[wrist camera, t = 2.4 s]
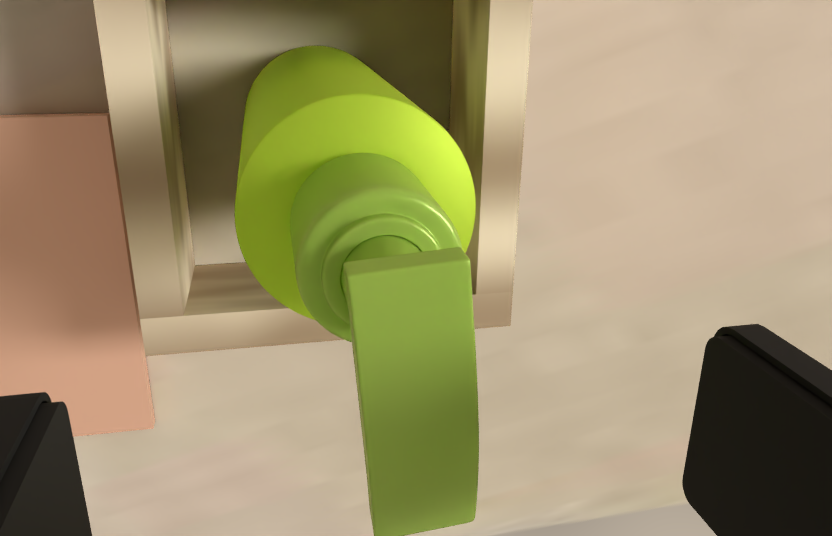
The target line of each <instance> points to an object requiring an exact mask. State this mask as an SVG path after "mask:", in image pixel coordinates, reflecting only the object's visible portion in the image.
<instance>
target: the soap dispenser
mask: <svg viewBox="0 0 832 536" xmlns="http://www.w3.org/2000/svg"><path fill="white" fill-rule="evenodd" d="M475 213H476V198H475V189H474V184H473V179H472V175H471V172H470V169H469V166H468V164H467V162H466V159H465V157H464V155H463V153H462V152H461V150H460V148H459V147H458V145H457V143H456V142H455V141H454V139H453V138H452V137H451V135H450V134H449V133H448V132H447V131H446V130H445V129H444V128H443V127H442V126H441V125H440V124H439V123H438V122H437V121H436V120H434V119H433V118H432V117H431V116H429V115H428V114H427V113H426V112H424V111H423V110H422V109H421V108H419V107H418V106H417V105H416V104H414V103H413V102H412V101H411V100H409V99H408V98H407V97H405V96H404V95H403V94H402V93H400V92H399V91H398V90H397V89H395V88H394V87H393V86H392V85H390V84H389V83H388V82H387V81H385V80H384V79H383V78H381V77H380V76H379V75H378V74H376V73H375V72H374V71H373V70H371V69H370V68H369V67H368V66H366V65H365V64H364V63H363V62H361V61H360V60H359V59H357V58H356V57H354V56H352V55H351V54H349V53H347V52H344V51H342V50H339V49H336V48H332V47H326V46H305V47H300V48H296V49H293V50H290V51H288V52H285V53H283V54H281V55H280V56H278V57H276V58H275V59H274V60H272V61H271V62H270V63H269V64H267V65H266V66H265V67H264V68H263V70H262V71H261V72H260V73H259V74H258V76H257V77H256V79H255V80H254V82H253V84H252V86H251V88H250V91H249V93H248V96H247V100H246V105H245V113H244V122H243V132H242V141H241V151H240V160H239V170H238V179H237V189H236V198H235V227H236V233H237V238H238V242H239V245H240V249H241V251H242V254H243V256H244V259H245V261H246V263H247V265H248V267H249V268H250V270H251V272H252V273H253V275H254V276H255V278H256V279H257V280H258V282H259V283H260V284H261V285H262V286H263V288H264V289H265V290H266V291H267V292H268V293H269V294H270V295H272V296H273V297H274V298H275V299H276V300H278V301H279V302H280V303H282V304H283V305H284V306H286V307H288V308H289V309H291V310H293V311H294V312H296V313H298V314H300V315H303V316H305V317H308V318H310V319H313V320H316V321H317V322H318V323H319V324H320V325H321V326H322V327H324V328H325V329H326V330H328V331H329V332H330V333H332V334H334V335H336V336H337V337H339V338H342V339H344V340H347V341H350V342H352V346H353V355H354V364H355V373H356V382H357V391H358V400H359V409H360V418H361V427H362V436H363V445H364V454H365V464H366V473H367V483H368V494H369V506H370V513H371V519H372V526H373V532H374V536H404V535H409V534H414V533H419V532H424V531H429V530H434V529H439V528H444V527H449V526H454V525H459V524H464V523H468V522H472V521H473V520H474V518H475V512H476V501H477V486H478V463H479V422H478V391H477V369H476V350H475V332H474V315H473V298H472V281H471V265H470V259H469V258H468V256H467V255H466V254H465V253H466V251H467V248H468V246H469V243H470V240H471V236H472V233H473V228H474V222H475Z"/></svg>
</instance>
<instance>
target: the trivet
mask: <svg viewBox="0 0 832 536" xmlns="http://www.w3.org/2000/svg"><path fill="white" fill-rule="evenodd" d="M39 392H46V393H47V394H48V395H49V397H50V399H51V401H52V402H61V401H63V402H64V403H65V404H66V406H67V410H68V414H69V419H70V424H71V429H72V434H73V436H83V435H93V434H103V433H113V432H123V431H132V430H142V429H152V428H154V424H155V417H154V410H153V403H152V396H151V389H150V383H149V376H148V369H147V362H146V356H145V350H144V343H143V337H142V330H141V323H140V316H139V309H138V303H137V296H136V289H135V282H134V275H133V269H132V262H131V255H130V248H129V241H128V235H127V228H126V221H125V214H124V207H123V201H122V194H121V187H120V180H119V173H118V167H117V160H116V153H115V146H114V139H113V133H112V126H111V119H110V113H79V114H30V115H0V396H8V395H18V394H29V393H39Z"/></svg>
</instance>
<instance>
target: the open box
mask: <svg viewBox="0 0 832 536" xmlns="http://www.w3.org/2000/svg"><path fill="white" fill-rule="evenodd" d="M93 3H94V10H95V17H96V24H97V31H98V37H99V44H100V51H101V58H102V65H103V71H104V78H105V85H106V92H107V99H108V105H109V112H110V119H111V126H112V133H113V139H114V146H115V153H116V160H117V167H118V173H119V180H120V187H121V194H122V201H123V207H124V214H125V221H126V228H127V235H128V241H129V248H130V255H131V262H132V269H133V275H134V282H135V289H136V296H137V303H138V309H139V316H140V323H141V330H142V337H143V343H144V350H145V356H153V355H165V354H177V353H189V352H201V351H213V350H225V349H237V348H249V347H261V346H273V345H285V344H297V343H309V342H321V341H333V340H344V339H342V338H339V337H337V336H336V335H334V334H332V333H330V332H329V331H328V330H326V329H325V328H324V327H322V326H321V325H320V324H319V323H318V322H317V321H316V320H313V319H310V318H308V317H305V316H303V315H300V314H298V313H296V312H294V311H293V310H291V309H289V308H288V307H286V306H284V305H283V304H282V303H280V302H279V301H278V300H276V299H275V298H274V297H273V296H272V295H270V294H269V293H268V292H267V291H266V290H265V289H264V288H263V286H262V285H261V284H260V283H259V282H258V280H257V279H256V278H255V276H254V275H253V273H252V272H251V270H250V268H249V267H248V265H247V263H246V262H245V263H229V264H212V265H196V266H195V263H194V254H193V245H192V236H191V227H190V218H189V209H188V200H187V191H186V182H185V173H184V164H183V155H182V146H181V137H180V128H179V119H178V110H177V101H176V92H175V83H174V74H173V65H172V56H171V47H170V38H169V29H168V20H167V11H166V2H165V0H93ZM532 7H533V0H453V24H452V57H451V90H450V123H449V134H450V135H451V137H452V138H453V139H454V141H455V142H456V143H457V145H458V147H459V148H460V150H461V152H462V153H463V155H464V157H465V159H466V162H467V164H468V166H469V169H470V172H471V175H472V179H473V184H474V189H475V198H476V213H475V222H474V228H473V233H472V236H471V240H470V243H469V246H468V248H467V251H466V253H465V254H466V255H467V256H468V258H469V259H470V265H471V281H472V298H473V315H474V329H478V328H490V327H502V326H510V323H511V309H512V295H513V280H514V266H515V252H516V237H517V223H518V208H519V194H520V180H521V165H522V151H523V136H524V122H525V108H526V93H527V79H528V65H529V50H530V36H531V21H532Z"/></svg>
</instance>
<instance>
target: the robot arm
mask: <svg viewBox="0 0 832 536" xmlns="http://www.w3.org/2000/svg"><path fill="white" fill-rule="evenodd" d="M683 490H684V493H685V496H686V498H687V500H688V502H689V503H690V505H691V506H692V507H693V508H694V509H695V510H696V511H697V513H698V514H699V515H700V516H701V517H702V519H704V521H705V522H706V523H707V524H708V526H709V527H710V528H711V529H712V530H713V531H714V533H715V534H716V535H717V536H832V370H830V369H828V368H827V367H825V366H824V365H822V364H821V363H819V362H818V361H816V360H815V359H813V358H811V357H810V356H808V355H807V354H805V353H804V352H802V351H801V350H799V349H798V348H796V347H794V346H793V345H791V344H790V343H788V342H787V341H785V340H784V339H782V338H781V337H779V336H777V335H776V334H774V333H773V332H771V331H770V330H768V329H767V328H765V327H764V326H761V325H759V324H751V325H741V326H730V327H722V328H721V329H719V330H718V331H717V332H716V334H715V336H714V337H713V338H711V339H709V341H708V342H707V344H706V348H705V353H704V359H703V365H702V370H701V376H700V382H699V388H698V393H697V399H696V405H695V411H694V416H693V422H692V428H691V434H690V439H689V445H688V451H687V457H686V462H685V468H684V474H683ZM0 536H92V533H91V528H90V522H89V517H88V512H87V507H86V502H85V497H84V491H83V486H82V481H81V476H80V471H79V465H78V460H77V455H76V450H75V445H74V440H73V434H72V429H71V424H70V419H69V414H68V410H67V406H66V404H65V403H64V402H63V401H61V402H52V401H51V399H50V397H49V395H48V394H47V393H46V392H39V393H29V394H18V395H8V396H0Z"/></svg>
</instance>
